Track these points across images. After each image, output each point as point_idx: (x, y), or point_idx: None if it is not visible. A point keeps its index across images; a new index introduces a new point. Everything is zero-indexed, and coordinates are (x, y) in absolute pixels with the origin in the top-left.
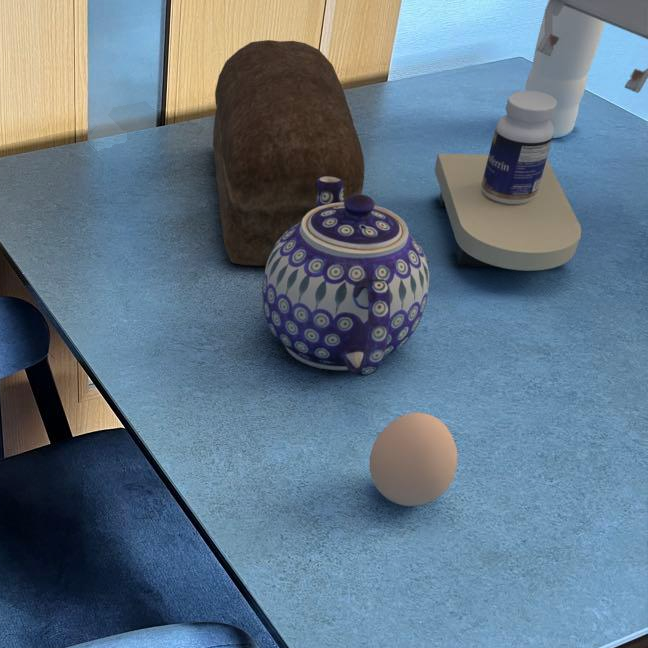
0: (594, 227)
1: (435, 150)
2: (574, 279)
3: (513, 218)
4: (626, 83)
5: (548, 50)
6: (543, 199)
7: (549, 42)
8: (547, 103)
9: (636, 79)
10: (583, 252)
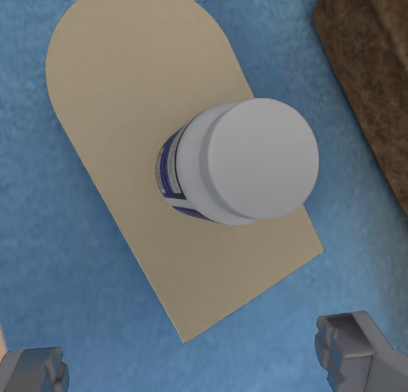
0: (63, 278)
1: (323, 369)
2: (45, 108)
3: (163, 91)
4: (63, 375)
5: (334, 316)
6: (140, 179)
7: (353, 334)
8: (230, 155)
9: (27, 369)
10: (56, 193)
